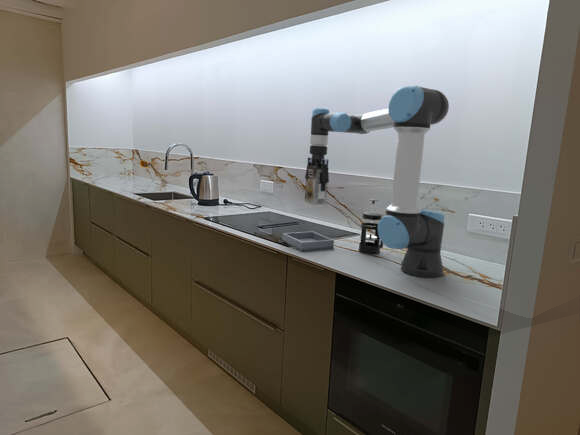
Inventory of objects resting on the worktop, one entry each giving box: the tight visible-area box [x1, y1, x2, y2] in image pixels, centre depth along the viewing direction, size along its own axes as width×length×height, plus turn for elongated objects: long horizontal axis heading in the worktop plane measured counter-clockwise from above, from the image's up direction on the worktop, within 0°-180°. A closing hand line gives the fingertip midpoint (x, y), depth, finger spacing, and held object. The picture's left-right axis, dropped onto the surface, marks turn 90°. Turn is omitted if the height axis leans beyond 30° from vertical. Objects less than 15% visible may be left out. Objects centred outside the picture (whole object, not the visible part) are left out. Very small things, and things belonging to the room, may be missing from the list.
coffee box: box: [304, 166, 329, 206], centre depth 180 cm, size 9×6×16 cm
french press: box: [357, 198, 384, 255], centre depth 175 cm, size 12×9×23 cm
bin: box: [282, 230, 335, 253], centre depth 183 cm, size 18×16×4 cm
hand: (315, 197), depth 181 cm, fingers closed on coffee box, 9 cm apart
